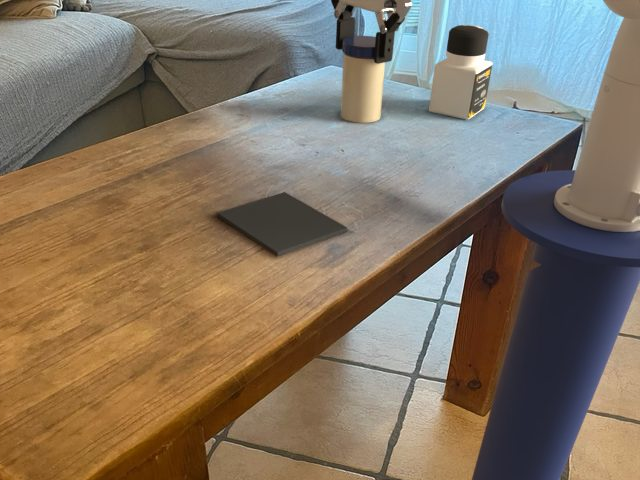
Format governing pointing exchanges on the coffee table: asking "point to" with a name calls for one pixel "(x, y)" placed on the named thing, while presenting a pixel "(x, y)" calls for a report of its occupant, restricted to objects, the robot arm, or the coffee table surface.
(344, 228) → the mat
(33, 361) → the coffee table surface
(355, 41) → the lid
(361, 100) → the jar
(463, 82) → the medicine bottle
